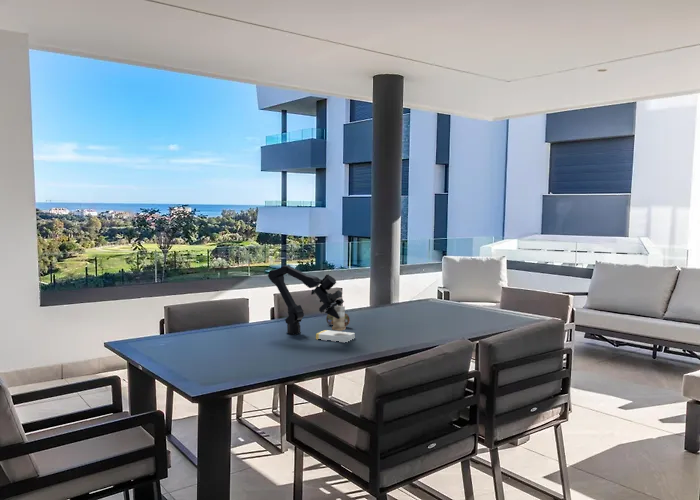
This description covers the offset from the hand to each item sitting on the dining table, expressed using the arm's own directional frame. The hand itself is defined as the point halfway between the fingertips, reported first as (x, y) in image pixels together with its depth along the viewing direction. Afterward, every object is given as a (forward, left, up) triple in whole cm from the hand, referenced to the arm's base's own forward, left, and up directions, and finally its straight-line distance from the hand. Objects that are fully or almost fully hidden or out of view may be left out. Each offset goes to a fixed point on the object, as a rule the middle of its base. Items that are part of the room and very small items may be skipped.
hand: (341, 317), depth 288 cm
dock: (-3, 0, -12) cm, 12 cm away
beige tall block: (-1, 0, -7) cm, 7 cm away
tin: (-16, +32, -12) cm, 38 cm away
